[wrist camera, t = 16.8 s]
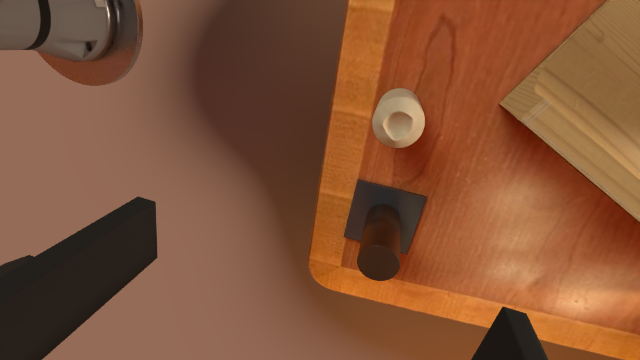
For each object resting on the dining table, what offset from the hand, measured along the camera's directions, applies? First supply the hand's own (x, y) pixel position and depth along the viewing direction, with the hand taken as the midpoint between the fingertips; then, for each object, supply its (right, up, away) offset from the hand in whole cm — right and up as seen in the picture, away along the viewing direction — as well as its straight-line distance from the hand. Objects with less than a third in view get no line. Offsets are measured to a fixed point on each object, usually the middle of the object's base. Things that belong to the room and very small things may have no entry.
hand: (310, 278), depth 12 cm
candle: (+11, +13, +30) cm, 35 cm away
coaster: (+10, -2, +36) cm, 38 cm away
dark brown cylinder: (+10, -2, +36) cm, 37 cm away
